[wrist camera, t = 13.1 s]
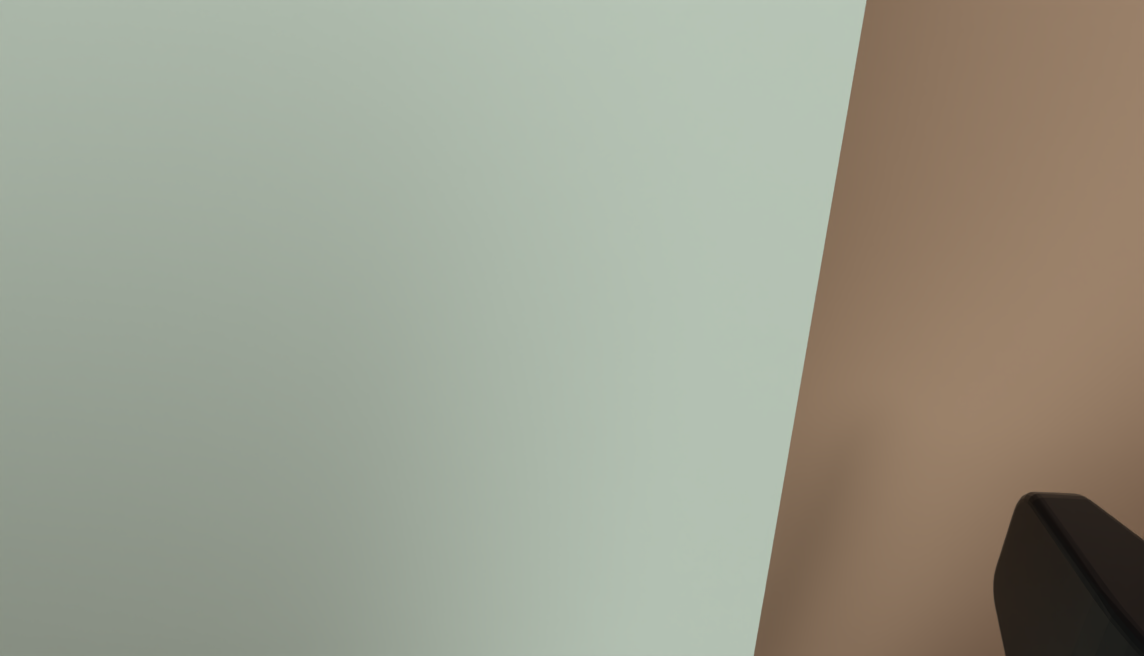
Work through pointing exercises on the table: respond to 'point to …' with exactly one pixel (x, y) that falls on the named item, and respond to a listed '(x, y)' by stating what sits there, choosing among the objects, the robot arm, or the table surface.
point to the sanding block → (405, 320)
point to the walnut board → (965, 320)
